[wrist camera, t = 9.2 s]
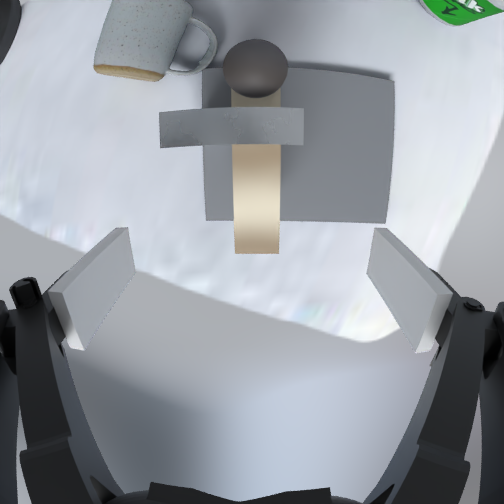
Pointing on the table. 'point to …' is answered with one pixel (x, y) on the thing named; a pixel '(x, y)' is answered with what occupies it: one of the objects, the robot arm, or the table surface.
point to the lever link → (256, 146)
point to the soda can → (462, 10)
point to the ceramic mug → (146, 39)
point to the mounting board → (317, 148)
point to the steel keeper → (232, 126)
